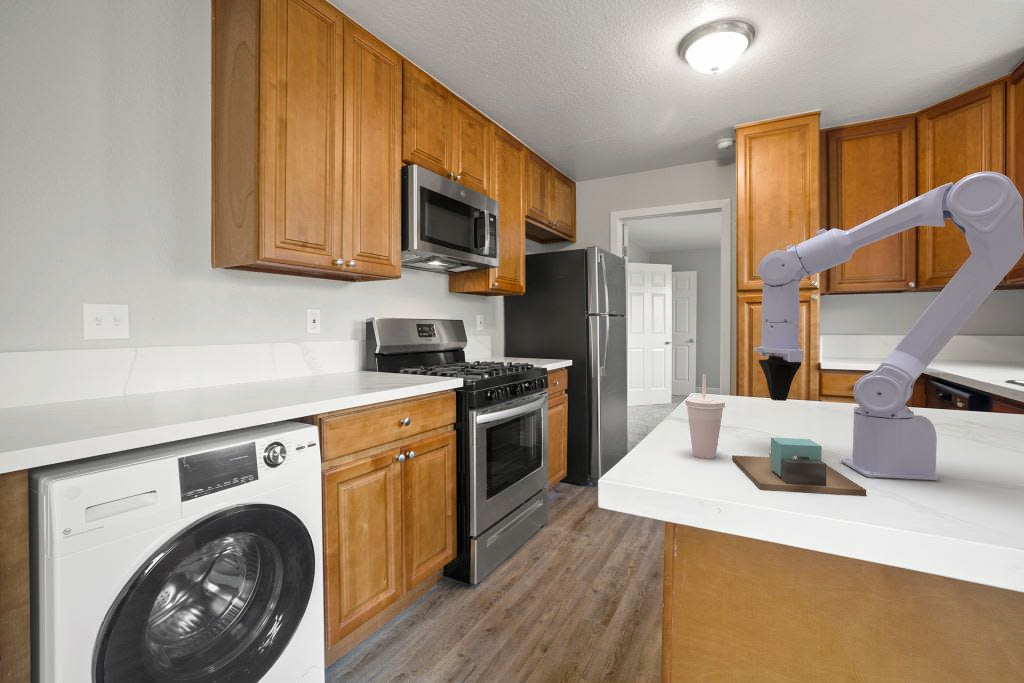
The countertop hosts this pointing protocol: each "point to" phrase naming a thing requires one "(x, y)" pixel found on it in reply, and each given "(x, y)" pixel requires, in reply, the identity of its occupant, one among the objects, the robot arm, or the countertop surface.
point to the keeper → (792, 451)
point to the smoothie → (704, 423)
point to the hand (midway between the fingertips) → (778, 400)
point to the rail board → (775, 483)
